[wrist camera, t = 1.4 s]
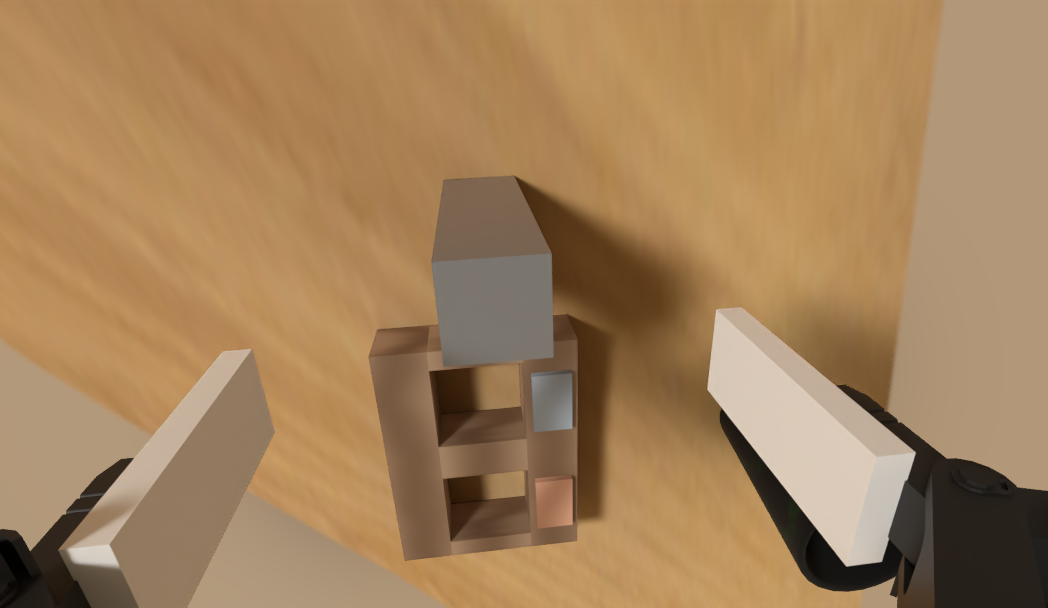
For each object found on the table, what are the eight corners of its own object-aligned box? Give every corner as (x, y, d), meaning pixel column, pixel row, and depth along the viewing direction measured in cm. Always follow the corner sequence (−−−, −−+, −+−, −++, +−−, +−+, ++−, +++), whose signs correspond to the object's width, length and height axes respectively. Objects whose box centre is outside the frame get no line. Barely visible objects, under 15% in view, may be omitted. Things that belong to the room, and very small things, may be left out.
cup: (776, 460, 42) (887, 600, 31) (688, 442, 40) (774, 583, 29) (826, 377, 39) (967, 498, 28) (734, 354, 37) (847, 473, 26)
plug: (514, 175, 31) (551, 253, 18) (517, 242, 32) (553, 357, 20) (443, 179, 31) (431, 262, 18) (450, 247, 32) (443, 367, 19)
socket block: (567, 314, 35) (579, 342, 31) (568, 504, 41) (578, 545, 38) (377, 329, 34) (367, 360, 30) (409, 521, 40) (404, 565, 37)
